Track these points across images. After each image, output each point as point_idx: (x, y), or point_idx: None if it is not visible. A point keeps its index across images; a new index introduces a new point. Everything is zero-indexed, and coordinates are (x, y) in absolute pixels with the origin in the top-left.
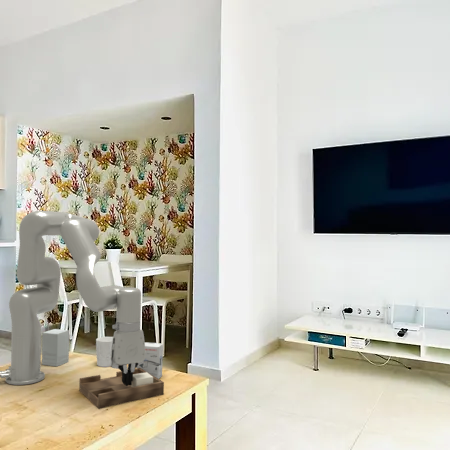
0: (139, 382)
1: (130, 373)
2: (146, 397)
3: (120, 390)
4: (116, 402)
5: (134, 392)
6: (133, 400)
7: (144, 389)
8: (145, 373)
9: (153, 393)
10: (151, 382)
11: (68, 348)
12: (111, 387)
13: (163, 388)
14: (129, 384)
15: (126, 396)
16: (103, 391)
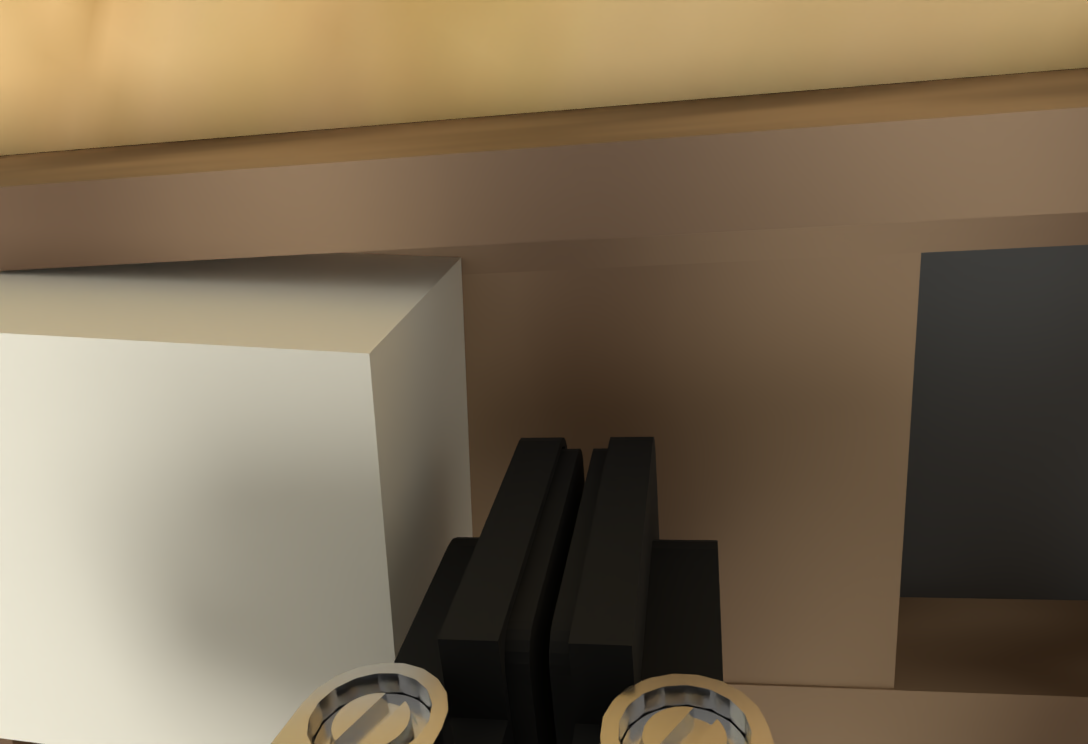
0: (321, 313)
1: (497, 625)
2: (308, 134)
3: (993, 150)
4: (1031, 78)
5: (556, 127)
6: (597, 111)
7: (279, 151)
8: (32, 681)
9: (134, 151)
10: (18, 282)
11: None
12: (880, 701)
13: None
14: (574, 451)
15: (778, 108)
16: (1067, 663)
